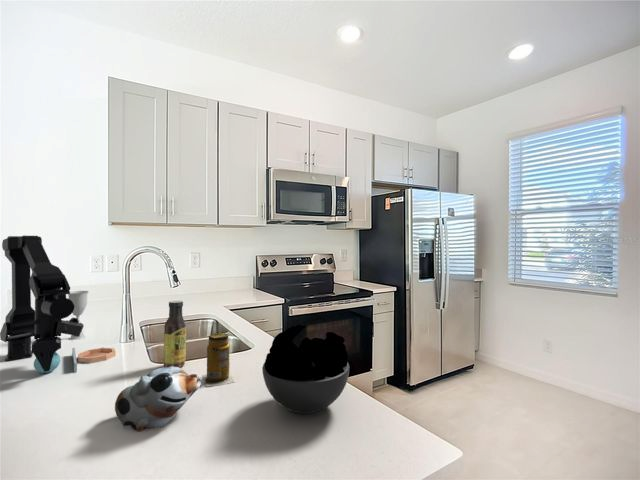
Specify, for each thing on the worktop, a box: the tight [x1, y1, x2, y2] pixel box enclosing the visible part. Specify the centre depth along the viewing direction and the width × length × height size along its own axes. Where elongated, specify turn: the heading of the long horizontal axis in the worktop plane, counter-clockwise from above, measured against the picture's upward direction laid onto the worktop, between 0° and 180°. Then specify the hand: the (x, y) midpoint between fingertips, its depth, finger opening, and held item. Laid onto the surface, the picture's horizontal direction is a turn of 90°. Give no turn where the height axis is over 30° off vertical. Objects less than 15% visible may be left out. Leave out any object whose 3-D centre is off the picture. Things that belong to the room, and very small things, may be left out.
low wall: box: [71, 347, 78, 373], centre depth 103 cm, size 18×1×2 cm, turn 38°
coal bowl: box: [262, 324, 350, 414], centre depth 76 cm, size 20×20×19 cm
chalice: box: [67, 290, 89, 340], centre depth 130 cm, size 7×7×18 cm
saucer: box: [77, 347, 116, 364], centre depth 109 cm, size 10×10×2 cm
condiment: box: [202, 332, 235, 387], centre depth 92 cm, size 7×8×12 cm
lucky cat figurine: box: [114, 366, 203, 432], centre depth 72 cm, size 15×12×14 cm
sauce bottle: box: [162, 300, 187, 369], centre depth 101 cm, size 7×6×20 cm
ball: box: [33, 351, 61, 374], centre depth 96 cm, size 6×6×6 cm
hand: (47, 367), depth 96 cm, fingers closed on ball, 6 cm apart
